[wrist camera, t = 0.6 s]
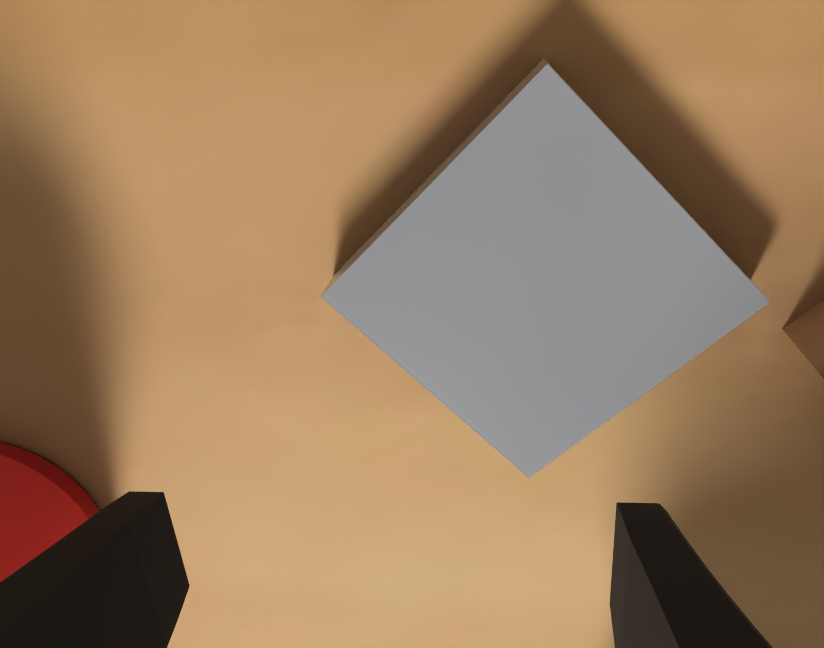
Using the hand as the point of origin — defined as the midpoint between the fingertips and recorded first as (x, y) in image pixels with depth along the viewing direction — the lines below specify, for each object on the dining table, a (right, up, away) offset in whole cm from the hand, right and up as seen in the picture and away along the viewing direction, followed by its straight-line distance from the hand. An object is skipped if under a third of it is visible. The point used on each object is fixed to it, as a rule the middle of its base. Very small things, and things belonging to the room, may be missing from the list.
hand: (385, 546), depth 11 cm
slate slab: (+4, +5, +8) cm, 11 cm away
